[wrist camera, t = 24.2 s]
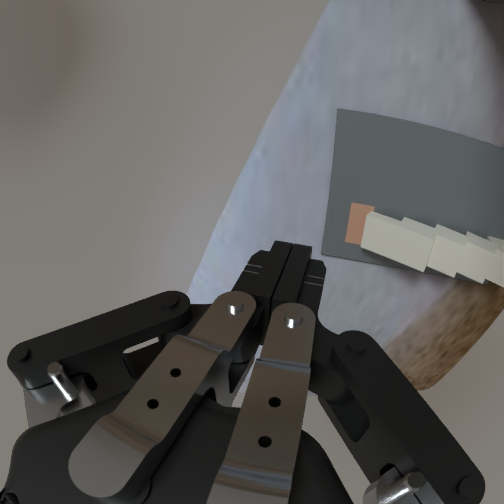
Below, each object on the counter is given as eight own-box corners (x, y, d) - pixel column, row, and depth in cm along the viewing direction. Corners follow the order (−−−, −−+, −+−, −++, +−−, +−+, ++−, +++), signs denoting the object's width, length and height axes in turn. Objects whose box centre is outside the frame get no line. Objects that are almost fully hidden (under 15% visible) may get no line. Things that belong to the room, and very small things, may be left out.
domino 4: (466, 235, 35) (521, 261, 30) (467, 231, 37) (520, 255, 31) (455, 265, 38) (508, 289, 32) (457, 259, 39) (508, 283, 34)
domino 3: (434, 228, 37) (495, 254, 31) (437, 223, 38) (495, 248, 32) (425, 258, 39) (482, 284, 34) (428, 253, 41) (483, 277, 35)
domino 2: (401, 221, 38) (465, 246, 33) (404, 216, 39) (466, 241, 34) (393, 252, 41) (454, 277, 35) (397, 247, 42) (455, 271, 36)
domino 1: (366, 215, 39) (434, 240, 34) (371, 210, 41) (436, 234, 35) (360, 246, 42) (423, 272, 36) (365, 241, 43) (426, 265, 38)
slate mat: (337, 108, 35) (337, 108, 35) (527, 158, 28) (529, 159, 27) (321, 252, 47) (320, 254, 47) (486, 282, 40) (487, 285, 39)
